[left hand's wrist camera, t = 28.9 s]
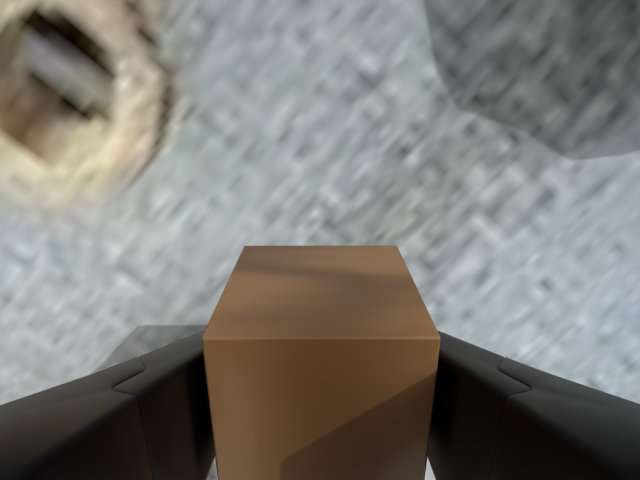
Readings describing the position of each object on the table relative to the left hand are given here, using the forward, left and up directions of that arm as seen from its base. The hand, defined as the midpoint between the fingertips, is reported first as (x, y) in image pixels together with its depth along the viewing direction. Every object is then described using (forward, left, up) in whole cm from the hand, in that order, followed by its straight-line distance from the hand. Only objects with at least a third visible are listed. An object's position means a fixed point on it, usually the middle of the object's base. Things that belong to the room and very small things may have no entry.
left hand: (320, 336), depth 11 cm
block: (0, 0, -1) cm, 1 cm away
